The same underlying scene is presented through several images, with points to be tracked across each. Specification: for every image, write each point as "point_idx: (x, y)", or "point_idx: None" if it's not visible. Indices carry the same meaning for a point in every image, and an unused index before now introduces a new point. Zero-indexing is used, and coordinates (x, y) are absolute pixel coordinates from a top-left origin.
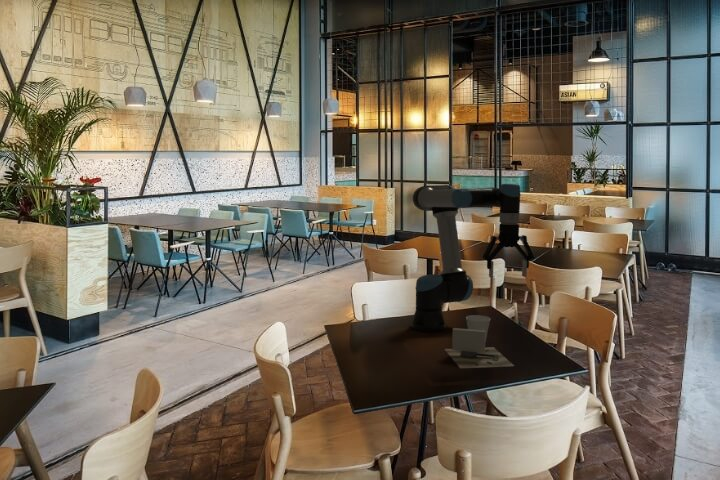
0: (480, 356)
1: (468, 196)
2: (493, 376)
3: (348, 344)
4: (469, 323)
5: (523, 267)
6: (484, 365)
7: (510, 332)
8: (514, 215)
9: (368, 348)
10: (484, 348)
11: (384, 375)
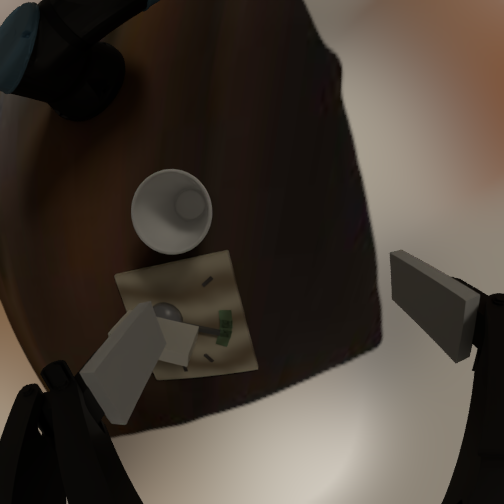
0: (191, 322)
1: None
2: (215, 394)
3: None
4: (146, 233)
5: (424, 301)
6: (199, 369)
7: (297, 84)
8: None
9: (11, 260)
10: (195, 343)
11: None
